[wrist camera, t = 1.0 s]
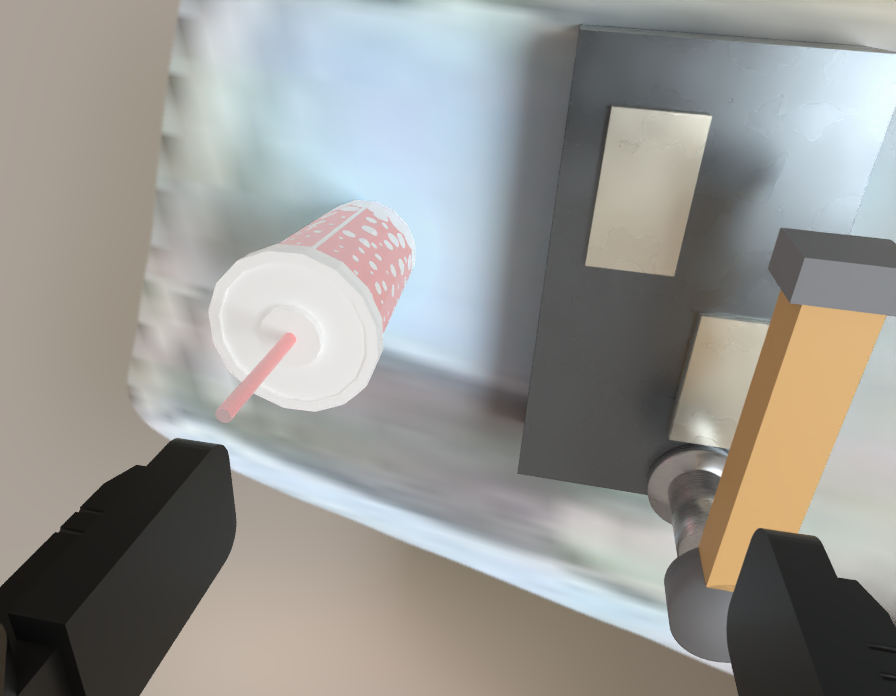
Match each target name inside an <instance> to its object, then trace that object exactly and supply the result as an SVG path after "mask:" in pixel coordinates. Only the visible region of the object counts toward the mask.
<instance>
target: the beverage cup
mask: <svg viewBox="0 0 896 696" xmlns="http://www.w3.org/2000/svg"><path fill="white" fill-rule="evenodd" d="M414 264H415V242H414V239H413V237H412V235H411V232H410V230H409V227H408V225H407V224H406V223H405V222H404V221H403V220H402V219H401V218H400V217H399V216H398V214H397V213H396V212H395V211H394V210H392V209H390V208H388V207H386V206H384V205H382V204H380V203H378V202H376V201H364V200H354V201H351V202H348V203H345V204H343V205H340V206H337V207H336V208H334V209H333V210H331V211H329V212H328V213H326V214H325V215H323V216H321V217H320V218H318V219H317V220H315V221H313V222H312V223H310V224H309V225H307V226H306V227H304V228H302V229H301V230H299V231H298V232H296V233H294V234H293V235H291V236H290V237H288V238H286V239H285V240H283V241H282V242H280V243H278V244H275V245H272V246H269V247H266V248H263V249H261V250H258V251H255V252H252V253H249V254H247V255H246V256H245V257H243V258H240V259H239V260H238V261H236V262H235V263H234V265H233V266H232V267H231V268H230V269H229V270H228V271H227V272H226V273H225V274H224V275H223V276H222V277H221V278H220V279H219V280H218V282H217V283H216V285H215V289H214V292H213V296H212V299H211V303H210V307H209V310H208V314H209V320H210V326H211V333H212V339H213V343H214V345H215V347H216V349H217V350H218V352H219V354H220V356H221V357H222V359H223V361H224V363H225V364H226V366H227V368H228V370H229V371H230V372H231V373H232V374H233V375H234V376H235V377H236V378H237V379H239V380H240V381H241V384H240V385H239V386H238V387H237V388H236V389H235V390H234V391H233V392H232V394H231V395H230V396H229V397H228V398H227V399H226V400H225V401H224V403H223V404H222V405H221V406H220V407H219V408H218V409H217V410H216V413H215V415H216V418H217V419H218V420H219V421H221V422H223V423H228V422H229V421H231V419H232V418H233V417H234V416H235V415H236V413H237V412H238V411H239V410H240V409H241V407H242V406H243V405H244V404H245V403H246V401H247V400H248V399H249V398H250V397H251V395H252V394H253V393H254V394H256V395H258V396H260V397H262V398H264V399H266V400H268V401H271V402H273V403H275V404H277V405H279V406H281V407H283V408H290V409H298V410H306V411H314V412H316V411H320V410H324V409H328V408H332V407H336V406H340V405H344V404H345V403H346V402H348V401H349V400H350V399H351V398H353V397H354V396H355V395H356V394H358V393H359V392H360V391H361V390H363V389H364V388H365V387H366V386H367V384H368V382H369V380H370V378H371V376H372V373H373V371H374V369H375V367H376V364H377V362H378V360H379V358H380V355H381V353H382V351H383V333H384V331H385V329H386V326H387V324H388V322H389V320H390V318H391V315H392V313H393V311H394V309H395V307H396V304H397V302H398V300H399V298H400V296H401V293H402V291H403V289H404V287H405V285H406V282H407V280H408V278H409V276H410V274H411V271H412V269H413V267H414Z"/></svg>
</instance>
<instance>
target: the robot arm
mask: <svg viewBox="0 0 896 696" xmlns="http://www.w3.org/2000/svg"><path fill="white" fill-rule="evenodd" d="M235 533H236V513H235V504H234V496H233V487H232V479H231V470H230V461H229V455H228V451H227V449H226V448H225V447H224V446H223V445H220V444H213V443H207V442H200V441H193V440H187V439H180V438H176V439H173V440H172V441H170V442H169V443H168V444H167V445H166V446H165V447H164V448H163V449H162V450H161V452H159V454H158V455H157V456H156V457H155V458H154V459H153V460H152V461H151V462H150V463H149V464H148V465H147V466H140V465H136V466H134V467H132V468H130V469H129V470H127V471H125V472H123V473H122V474H120V475H118V476H116V477H115V478H113V479H111V480H109V481H107V482H106V483H104V484H103V485H102V486H101V487H100V488H99V489H98V490H97V491H96V492H95V493H94V494H93V495H92V496H91V497H90V498H89V499H88V500H87V501H86V502H85V503H84V504H83V505H82V506H81V507H80V511H79V512H75V513H74V514H73V515H72V516H71V517H70V518H69V519H68V520H67V521H66V522H65V523H64V524H63V525H62V526H61V529H60V531H59V533H57V532H55V533H54V534H53V535H52V536H51V537H50V538H49V539H48V540H47V541H46V542H45V543H44V544H43V545H42V546H41V547H40V548H39V549H38V550H37V551H36V552H35V553H34V554H33V555H32V556H31V557H30V558H29V559H28V560H27V561H26V562H25V563H24V564H23V565H22V566H21V567H20V568H19V569H18V570H17V571H16V572H15V573H14V574H13V575H12V576H11V577H10V578H9V579H8V580H7V581H6V582H5V583H4V584H3V585H2V586H1V587H0V696H139V695H140V694H141V692H142V691H143V689H144V688H145V686H146V685H147V683H148V681H149V680H150V678H151V677H152V675H153V674H154V672H155V670H156V669H157V667H158V666H159V664H160V663H161V661H162V660H163V658H164V656H165V655H166V653H167V652H168V650H169V649H170V647H171V646H172V644H173V642H174V641H175V639H176V638H177V636H178V635H179V633H180V632H181V630H182V628H183V627H184V625H185V624H186V622H187V620H188V619H189V618H190V616H191V614H192V613H193V611H194V610H195V608H196V607H197V605H198V604H199V602H200V600H201V598H202V597H203V596H204V594H205V593H206V591H207V589H208V588H209V586H210V585H211V583H212V582H213V580H214V579H215V577H216V575H217V574H218V572H219V571H220V569H221V568H222V566H223V565H224V563H225V561H226V560H227V558H228V556H229V554H230V551H231V549H232V545H233V542H234V538H235ZM726 634H727V646H728V651H729V656H730V660H731V665H732V669H733V673H734V678H735V682H736V686H737V691H738V695H739V696H896V628H895V626H894V624H893V622H892V620H891V618H890V616H889V614H888V613H887V611H886V610H885V609H884V608H883V607H882V606H881V605H880V604H879V603H878V602H877V601H876V600H875V599H874V598H873V597H872V596H871V595H870V594H869V593H868V592H867V591H866V590H865V589H864V588H863V587H862V586H861V585H860V583H859V582H858V581H856V580H850V579H844V578H837V576H836V573H835V571H834V569H833V567H832V565H831V562H830V560H829V558H828V556H827V553H826V551H825V549H824V547H823V545H822V543H821V541H820V540H819V539H818V538H817V537H815V536H811V535H804V534H797V533H791V532H784V531H778V530H771V529H764V528H758V529H757V530H756V531H755V532H754V534H753V536H752V538H751V541H750V544H749V547H748V550H747V553H746V556H745V559H744V562H743V565H742V568H741V571H740V574H739V577H738V580H737V583H736V586H735V589H734V592H733V595H732V598H731V601H730V604H729V608H728V614H727V626H726Z"/></svg>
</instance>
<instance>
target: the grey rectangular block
mask: <svg viewBox="0 0 896 696" xmlns="http://www.w3.org/2000/svg"><path fill="white" fill-rule="evenodd" d="M895 105H896V52H893V51H888V50H883V49H878V48H873V47H868V46H857V45H844V44H831V43H818V42H805V41H792V40H779V39H766V38H753V37H740V36H727V35H714V34H701V33H688V32H675V31H662V30H649V29H636V28H623V27H610V26H597V25H584V24H581V25H580V29H579V37H578V44H577V51H576V58H575V65H574V72H573V80H572V87H571V94H570V101H569V108H568V115H567V123H566V130H565V137H564V144H563V151H562V158H561V165H560V173H559V180H558V187H557V194H556V201H555V208H554V216H553V223H552V230H551V237H550V244H549V251H548V259H547V266H546V273H545V280H544V287H543V294H542V301H541V309H540V316H539V323H538V330H537V337H536V344H535V352H534V359H533V366H532V373H531V380H530V387H529V395H528V402H527V409H526V416H525V423H524V430H523V438H522V445H521V452H520V459H519V466H518V473H517V474H523V475H530V476H536V477H542V478H548V479H554V480H560V481H566V482H572V483H578V484H584V485H590V486H596V487H602V488H609V489H615V490H621V491H627V492H633V493H639V494H645V495H648V498H649V501H650V504H651V506H652V508H653V510H654V511H655V512H656V513H657V514H658V515H659V516H660V517H661V518H662V519H663V520H665V521H667V522H668V523H670V524H672V525H673V531H674V537H675V544H676V550H677V556H678V557H679V556H680V555H682V554H683V553H685V552H687V551H689V550H692V549H695V548H698V547H699V544H700V541H701V537H702V534H703V531H704V528H705V525H706V522H707V519H708V516H709V512H710V509H711V506H712V503H713V500H714V497H715V494H716V491H717V487H718V484H719V481H720V478H721V475H722V472H723V469H724V465H725V462H726V459H727V456H728V453H729V450H730V447H731V444H732V440H733V437H734V434H735V431H736V428H737V425H738V422H739V418H740V415H741V412H742V409H743V406H744V403H745V400H746V397H747V393H748V390H749V387H750V384H751V381H752V378H753V375H754V372H755V368H756V365H757V362H758V359H759V356H760V353H761V350H762V346H763V343H764V340H765V337H766V334H767V331H768V328H769V325H770V321H771V318H772V315H773V312H774V309H775V306H776V303H777V299H778V296H779V293H780V290H781V289H780V287H779V286H778V284H777V282H776V281H775V279H774V278H773V276H772V275H771V273H770V272H769V270H768V266H769V263H770V260H771V257H772V253H773V250H774V247H775V243H776V240H777V237H778V234H779V230H780V227H781V228H790V229H799V230H808V231H817V232H826V233H834V234H843V235H849V234H850V231H851V229H852V226H853V223H854V220H855V217H856V215H857V212H858V209H859V206H860V203H861V201H862V198H863V195H864V192H865V189H866V187H867V184H868V181H869V178H870V175H871V173H872V170H873V167H874V164H875V161H876V159H877V156H878V153H879V150H880V147H881V144H882V142H883V139H884V136H885V133H886V130H887V128H888V125H889V122H890V119H891V116H892V114H893V111H894V108H895Z"/></svg>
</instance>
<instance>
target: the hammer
mask: <svg viewBox="0 0 896 696" xmlns="http://www.w3.org/2000/svg"><path fill="white" fill-rule="evenodd" d="M768 270H769V272H770V273H771V275H772V276H773V278H774V279H775V281H776V282H777V284H778V286H779V287H780V289H781V290H780V293H779V296H778V299H777V303H776V306H775V309H774V312H773V315H772V318H771V321H770V325H769V328H768V331H767V334H766V337H765V340H764V343H763V346H762V350H761V353H760V356H759V359H758V362H757V365H756V368H755V372H754V375H753V378H752V381H751V384H750V387H749V390H748V393H747V397H746V400H745V403H744V406H743V409H742V412H741V415H740V418H739V422H738V425H737V428H736V431H735V434H734V437H733V440H732V444H731V447H730V450H729V453H728V456H727V459H726V462H725V465H724V469H723V472H722V475H721V478H720V481H719V484H718V487H717V491H716V494H715V497H714V500H713V503H712V506H711V509H710V512H709V516H708V519H707V522H706V525H705V528H704V531H703V534H702V537H701V541H700V544H699V547H698V548H695V549H692V550H689V551H687V552H685V553H683V554H682V555H680V556H679V557H677V558H676V559H675V560H674V561H673V562H672V563H671V565H670V566H669V568H668V569H667V571H666V574H665V579H664V586H665V593H666V601H667V609H668V617H669V625H670V630H671V633H672V635H673V637H674V639H675V640H676V641H677V642H678V644H679V645H680V646H681V647H683V648H684V649H685V650H687V651H688V652H690V653H691V654H693V655H695V656H698V657H700V658H703V659H706V660H710V661H715V662H724V663H731V660H730V656H729V651H728V646H727V634H726V626H727V614H728V608H729V604H730V601H731V598H732V595H733V592H734V589H735V586H736V583H737V580H738V577H739V574H740V571H741V568H742V565H743V562H744V559H745V556H746V553H747V550H748V547H749V544H750V541H751V538H752V536H753V534H754V532H755V531H756V530H757V529H758V528H764V529H771V530H778V531H784V532H791V533H797V534H798V532H799V529H800V527H801V524H802V522H803V519H804V517H805V515H806V512H807V510H808V507H809V505H810V502H811V500H812V497H813V495H814V492H815V490H816V488H817V485H818V483H819V480H820V478H821V475H822V473H823V470H824V468H825V465H826V463H827V461H828V458H829V456H830V453H831V451H832V448H833V446H834V443H835V441H836V438H837V436H838V434H839V431H840V429H841V426H842V424H843V421H844V419H845V416H846V414H847V411H848V409H849V407H850V404H851V402H852V399H853V397H854V394H855V392H856V389H857V387H858V384H859V382H860V380H861V377H862V375H863V372H864V370H865V367H866V365H867V362H868V360H869V357H870V355H871V353H872V350H873V348H874V345H875V343H876V340H877V338H878V335H879V333H880V330H881V328H882V326H883V323H884V321H885V318H886V316H887V315H888V316H896V244H895V243H894V242H893V241H892V240H888V239H879V238H870V237H861V236H852V235H843V234H834V233H826V232H817V231H808V230H799V229H790V228H781V227H780V230H779V234H778V237H777V240H776V243H775V247H774V250H773V253H772V257H771V260H770V263H769V266H768Z"/></svg>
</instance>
